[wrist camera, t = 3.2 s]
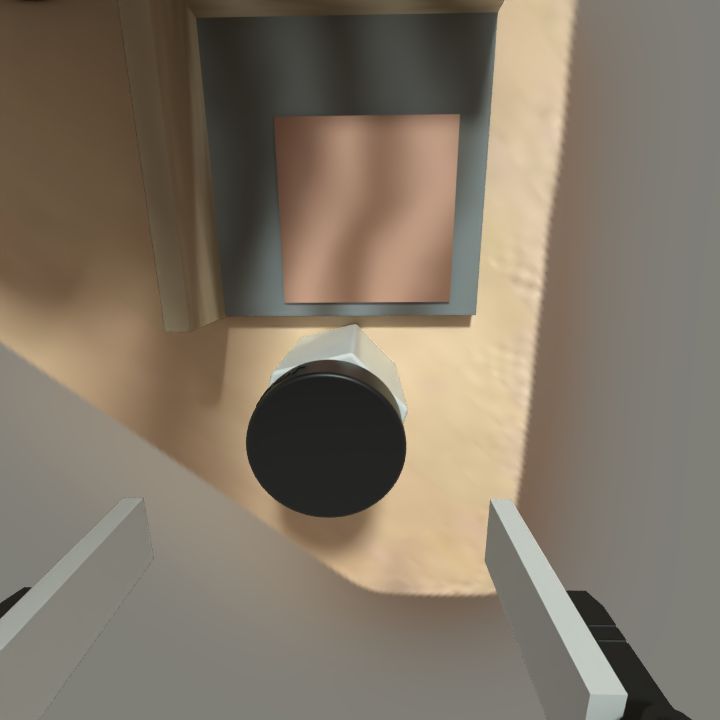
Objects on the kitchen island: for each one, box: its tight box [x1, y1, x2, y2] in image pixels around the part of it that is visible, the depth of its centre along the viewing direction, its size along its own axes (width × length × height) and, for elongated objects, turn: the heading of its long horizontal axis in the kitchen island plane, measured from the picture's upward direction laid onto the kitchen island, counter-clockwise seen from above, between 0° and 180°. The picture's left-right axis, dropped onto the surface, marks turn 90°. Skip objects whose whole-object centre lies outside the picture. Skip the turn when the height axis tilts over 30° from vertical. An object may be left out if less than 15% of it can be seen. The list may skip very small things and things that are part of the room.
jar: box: [246, 324, 408, 518], centre depth 25 cm, size 9×8×12 cm
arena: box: [117, 0, 504, 332], centre depth 23 cm, size 20×20×7 cm
